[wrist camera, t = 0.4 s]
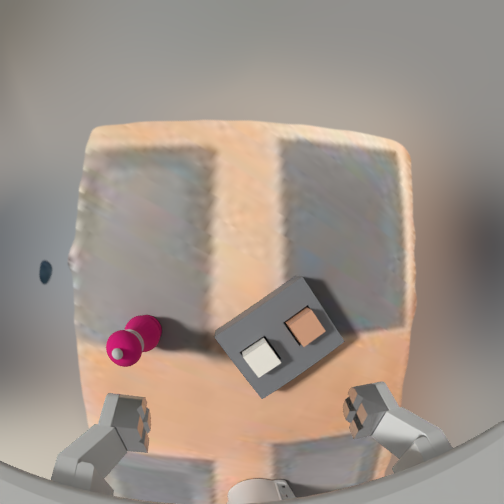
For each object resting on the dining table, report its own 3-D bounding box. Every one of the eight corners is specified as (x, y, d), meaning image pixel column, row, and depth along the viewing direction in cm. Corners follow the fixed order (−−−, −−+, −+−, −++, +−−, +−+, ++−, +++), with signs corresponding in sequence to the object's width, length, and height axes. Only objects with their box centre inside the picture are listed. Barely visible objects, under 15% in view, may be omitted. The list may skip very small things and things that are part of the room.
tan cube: (317, 326, 58) (325, 331, 53) (297, 340, 58) (303, 347, 53) (304, 306, 58) (311, 309, 53) (284, 321, 58) (289, 326, 53)
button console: (334, 335, 63) (344, 341, 57) (259, 387, 61) (262, 399, 55) (295, 275, 62) (302, 276, 56) (215, 330, 61) (214, 337, 55)
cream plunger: (276, 355, 57) (281, 362, 52) (256, 369, 57) (258, 377, 52) (262, 335, 57) (266, 342, 52) (241, 350, 57) (243, 357, 52)
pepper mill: (170, 326, 60) (146, 353, 40) (152, 352, 59) (123, 386, 39) (143, 305, 60) (108, 322, 40) (125, 331, 59) (86, 356, 39)
